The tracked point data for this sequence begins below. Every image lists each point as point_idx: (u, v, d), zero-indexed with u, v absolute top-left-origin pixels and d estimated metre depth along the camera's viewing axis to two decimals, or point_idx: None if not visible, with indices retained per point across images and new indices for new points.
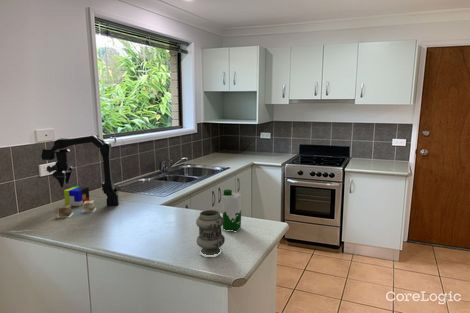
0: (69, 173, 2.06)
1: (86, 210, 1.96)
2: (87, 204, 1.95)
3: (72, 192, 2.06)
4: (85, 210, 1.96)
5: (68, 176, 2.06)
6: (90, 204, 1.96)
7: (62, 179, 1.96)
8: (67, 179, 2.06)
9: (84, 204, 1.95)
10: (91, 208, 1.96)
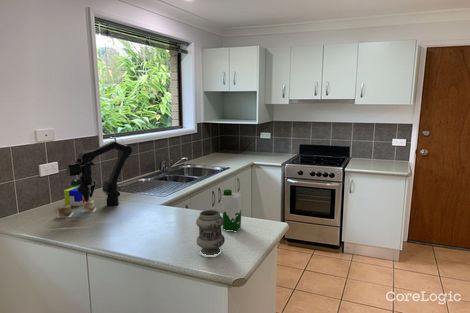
0: (93, 187, 2.02)
1: (86, 210, 1.96)
2: (87, 204, 1.95)
3: (72, 192, 2.06)
4: (85, 210, 1.96)
5: (92, 190, 2.02)
6: (90, 204, 1.96)
7: (87, 194, 1.91)
8: (91, 193, 2.02)
9: (84, 204, 1.95)
10: (91, 208, 1.96)
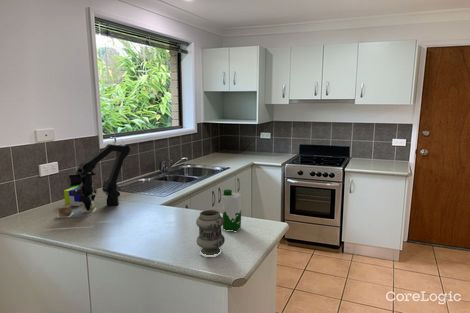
0: (92, 197, 2.01)
1: (86, 210, 1.96)
2: None
3: None
4: (85, 210, 1.96)
5: (91, 200, 2.01)
6: None
7: (88, 203, 1.94)
8: None
9: (84, 204, 1.95)
10: (91, 208, 1.96)
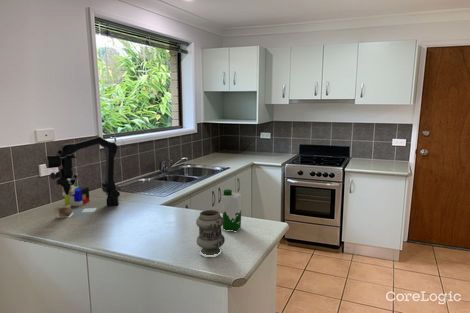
0: (73, 181, 1.92)
1: (65, 194, 1.87)
2: None
3: None
4: (64, 194, 1.87)
5: (71, 184, 1.92)
6: None
7: (68, 186, 1.85)
8: None
9: (63, 188, 1.86)
10: (70, 192, 1.87)
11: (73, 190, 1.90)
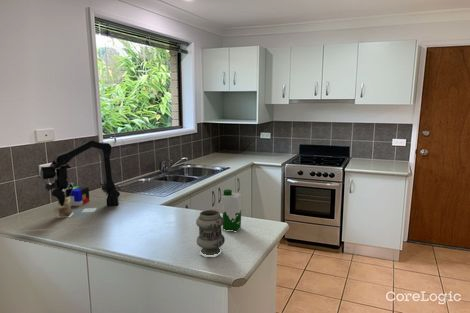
0: (69, 190, 1.93)
1: (61, 206, 1.87)
2: None
3: (72, 192, 2.06)
4: (60, 206, 1.86)
5: (68, 194, 1.93)
6: (65, 200, 1.86)
7: (62, 197, 1.83)
8: None
9: None
10: (66, 204, 1.87)
11: (69, 202, 1.90)
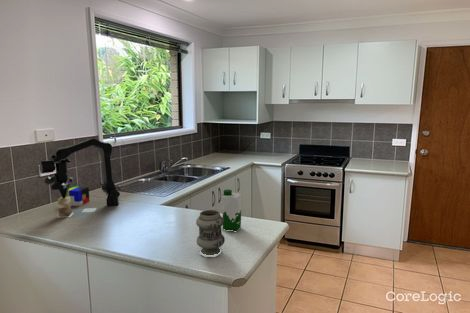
0: None
1: (61, 206, 1.87)
2: (62, 200, 1.86)
3: (72, 192, 2.06)
4: (60, 206, 1.86)
5: None
6: (65, 200, 1.86)
7: (64, 190, 1.86)
8: None
9: (59, 200, 1.86)
10: (66, 204, 1.87)
11: (69, 202, 1.90)
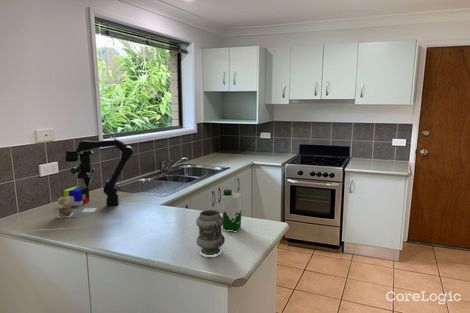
0: (90, 176, 2.04)
1: (61, 206, 1.87)
2: (62, 200, 1.86)
3: (72, 192, 2.06)
4: (60, 206, 1.86)
5: None
6: (65, 200, 1.86)
7: (88, 179, 2.02)
8: None
9: (59, 200, 1.86)
10: (66, 204, 1.87)
11: (69, 202, 1.90)
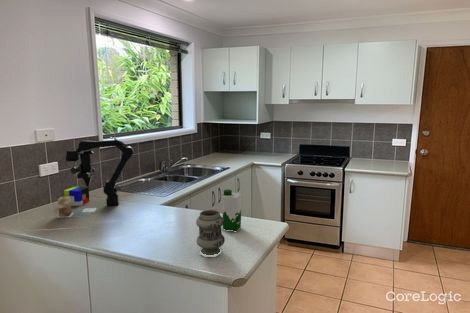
0: (90, 176, 2.04)
1: (61, 206, 1.87)
2: (62, 200, 1.86)
3: (72, 192, 2.06)
4: (60, 206, 1.86)
5: None
6: (65, 200, 1.86)
7: (88, 179, 2.02)
8: None
9: (59, 200, 1.86)
10: (66, 204, 1.87)
11: (69, 202, 1.90)
